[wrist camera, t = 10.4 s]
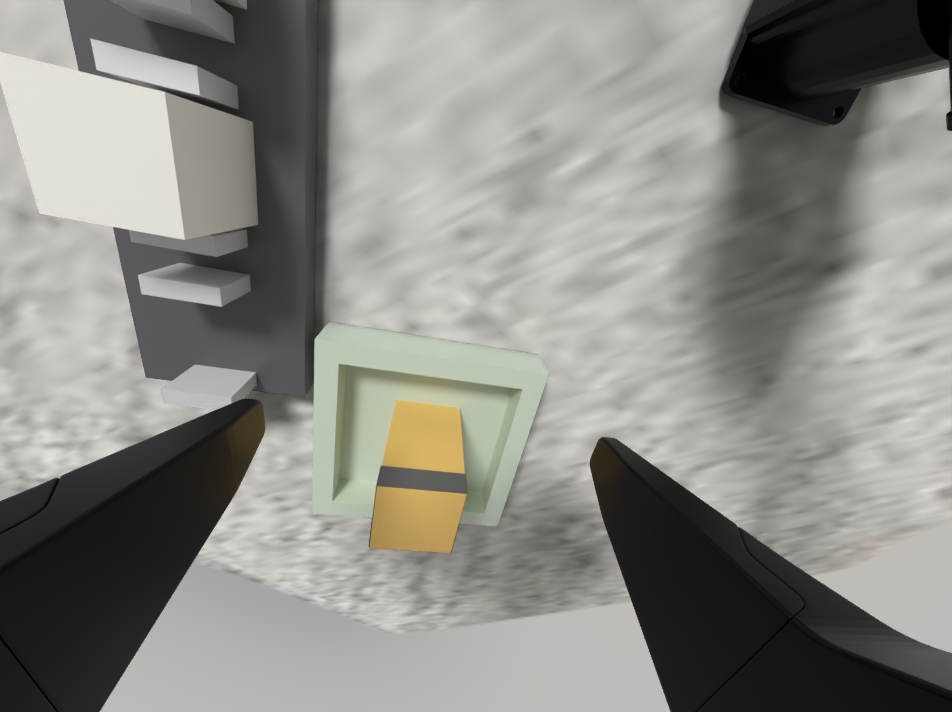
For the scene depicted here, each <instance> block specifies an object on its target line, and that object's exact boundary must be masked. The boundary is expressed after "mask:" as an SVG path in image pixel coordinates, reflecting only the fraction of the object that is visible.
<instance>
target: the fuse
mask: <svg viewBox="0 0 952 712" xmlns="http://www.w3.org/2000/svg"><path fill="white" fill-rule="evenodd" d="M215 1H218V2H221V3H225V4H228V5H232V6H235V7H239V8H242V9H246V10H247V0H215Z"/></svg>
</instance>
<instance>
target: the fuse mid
mask: <svg viewBox="0 0 952 712" xmlns="http://www.w3.org/2000/svg"><path fill="white" fill-rule="evenodd" d="M0 83H1V86H2V89H3V93H4V96H5V99H6V103H7V106H8V110H9V113H10V116H11V120H12V123H13V126H14V130H15V133H16V136H17V140H18V143H19V146H20V150H21V153H22V157H23V160H24V163H25V167H26V170H27V173H28V177H29V180H30V183H31V187H32V190H33V194H34V197H35V200H36V204H37V207H38V210H39V213H40V214H46V215H51V216H57V217H62V218H67V219H73V220H78V221H84V222H89V223H95V224H100V225H106V226H111V227H117V228H122V229H128V230H133V231H139V232H144V233H150V234H155V235H161V236H166V237H171V238H177V239H182V240H187V239H192V238H197V237H202V236H207V235H211V234H216V233H221V232H226V231H231V230H235V229H240V228H245V227H250V226H255V225H258V209H257V190H256V171H255V152H254V132H253V122H252V121H249V120H246V119H243V118H240V117H237V116H234V115H231V114H228V113H225V112H222V111H219V110H216V109H213V108H210V107H208V106H205V105H202V104H199V103H196V102H193V101H190V100H187V99H184V98H181V97H178V96H175V95H172V94H169V93H166V92H163V91H159V90H154V89H150V88H146V87H142V86H138V85H134V84H130V83H126V82H122V81H117V80H113V79H109V78H105V77H101V76H97V75H93V74H89V73H85V72H81V71H76V70H72V69H68V68H64V67H60V66H56V65H52V64H48V63H44V62H39V61H35V60H31V59H27V58H23V57H19V56H15V55H11V54H7V53H2V52H0Z"/></svg>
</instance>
